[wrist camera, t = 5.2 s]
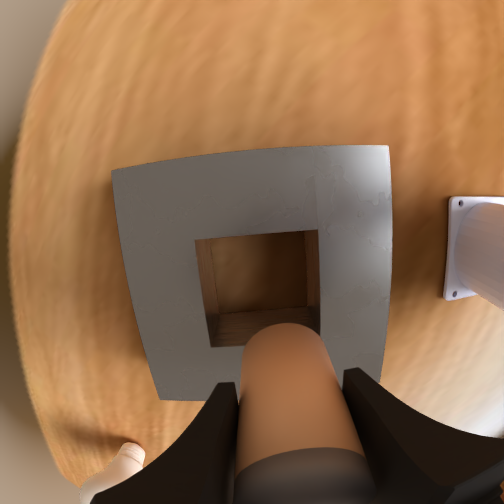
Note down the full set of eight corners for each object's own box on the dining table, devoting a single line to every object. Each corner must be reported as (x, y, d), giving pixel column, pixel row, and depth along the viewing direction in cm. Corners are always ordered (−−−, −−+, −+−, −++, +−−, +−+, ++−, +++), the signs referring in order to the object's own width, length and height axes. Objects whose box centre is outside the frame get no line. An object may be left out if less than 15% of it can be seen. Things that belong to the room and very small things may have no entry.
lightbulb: (142, 466, 25) (117, 542, 14) (99, 435, 24) (60, 510, 13) (176, 453, 24) (153, 541, 13) (128, 417, 23) (87, 507, 12)
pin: (336, 328, 13) (401, 468, 5) (313, 393, 14) (344, 527, 6) (249, 317, 13) (243, 474, 5) (236, 386, 14) (225, 529, 6)
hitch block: (359, 152, 18) (388, 145, 13) (359, 347, 21) (379, 382, 16) (141, 171, 18) (111, 170, 14) (175, 362, 21) (159, 399, 17)
